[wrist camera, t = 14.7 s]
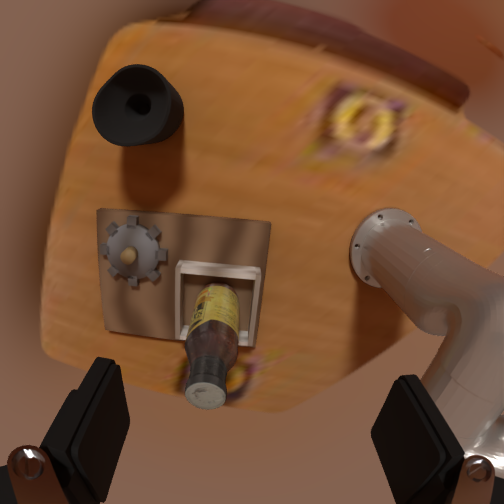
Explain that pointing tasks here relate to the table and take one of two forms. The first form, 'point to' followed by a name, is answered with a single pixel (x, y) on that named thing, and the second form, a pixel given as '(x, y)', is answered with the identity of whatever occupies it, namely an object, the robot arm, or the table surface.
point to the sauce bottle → (212, 344)
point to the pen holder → (137, 107)
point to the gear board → (177, 269)
